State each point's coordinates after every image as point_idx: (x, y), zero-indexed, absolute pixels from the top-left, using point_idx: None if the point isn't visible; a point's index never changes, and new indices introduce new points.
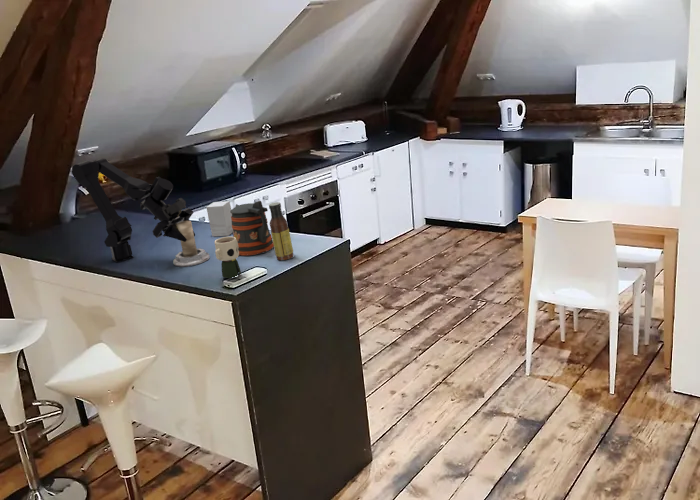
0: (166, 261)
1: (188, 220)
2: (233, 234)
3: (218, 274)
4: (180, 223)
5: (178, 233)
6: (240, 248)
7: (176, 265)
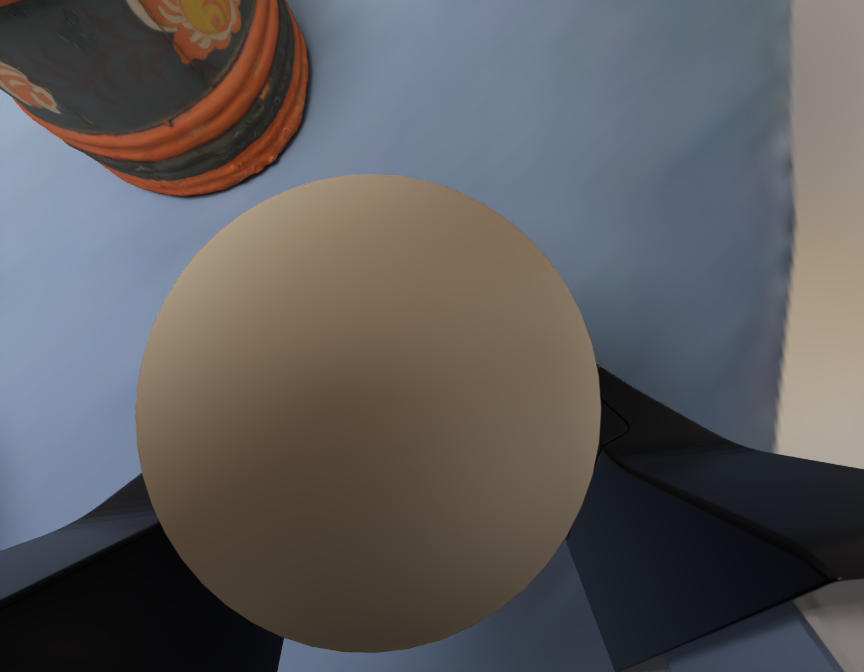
0: None
1: (34, 544)
2: (159, 27)
3: (593, 21)
4: (449, 482)
5: (607, 373)
6: (284, 37)
7: None
